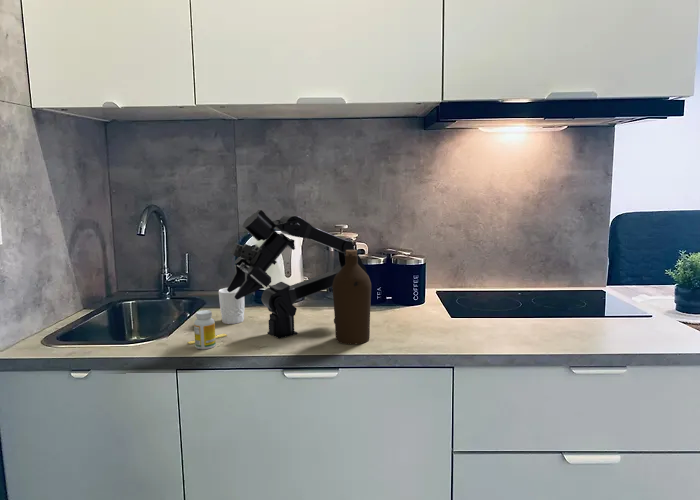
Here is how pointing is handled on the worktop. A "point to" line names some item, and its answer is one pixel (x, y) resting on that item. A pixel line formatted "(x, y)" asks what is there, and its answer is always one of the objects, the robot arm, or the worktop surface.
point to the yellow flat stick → (215, 338)
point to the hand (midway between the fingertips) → (231, 294)
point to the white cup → (231, 306)
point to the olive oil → (352, 302)
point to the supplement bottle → (204, 330)
